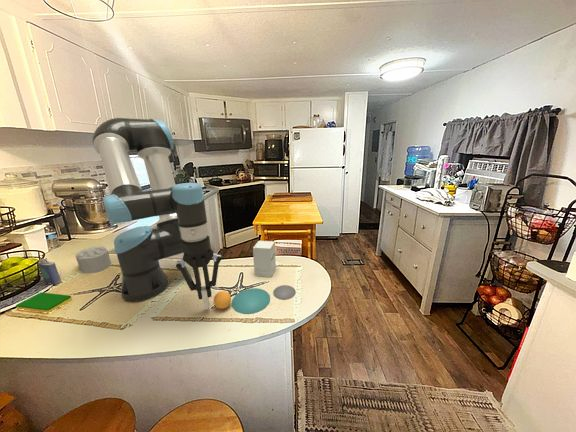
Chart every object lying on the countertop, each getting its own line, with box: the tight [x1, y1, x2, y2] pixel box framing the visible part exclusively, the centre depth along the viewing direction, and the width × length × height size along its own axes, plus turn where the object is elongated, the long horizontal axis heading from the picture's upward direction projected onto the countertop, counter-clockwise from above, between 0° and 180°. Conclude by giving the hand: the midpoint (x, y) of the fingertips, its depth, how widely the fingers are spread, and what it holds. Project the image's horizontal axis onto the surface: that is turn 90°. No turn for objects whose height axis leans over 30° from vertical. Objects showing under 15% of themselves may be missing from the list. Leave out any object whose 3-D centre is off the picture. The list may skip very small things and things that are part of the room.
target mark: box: [231, 287, 271, 315], centre depth 76 cm, size 13×13×1 cm
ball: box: [213, 290, 232, 310], centre depth 73 cm, size 6×6×6 cm
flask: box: [37, 257, 62, 286], centre depth 89 cm, size 9×3×11 cm, turn 68°
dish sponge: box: [15, 292, 73, 313], centre depth 77 cm, size 7×14×2 cm, turn 80°
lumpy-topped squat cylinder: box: [74, 245, 112, 274], centre depth 101 cm, size 10×13×9 cm
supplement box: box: [252, 240, 277, 278], centre depth 92 cm, size 7×7×13 cm
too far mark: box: [272, 284, 296, 301], centre depth 80 cm, size 8×8×1 cm
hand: (206, 305), depth 71 cm, fingers closed
